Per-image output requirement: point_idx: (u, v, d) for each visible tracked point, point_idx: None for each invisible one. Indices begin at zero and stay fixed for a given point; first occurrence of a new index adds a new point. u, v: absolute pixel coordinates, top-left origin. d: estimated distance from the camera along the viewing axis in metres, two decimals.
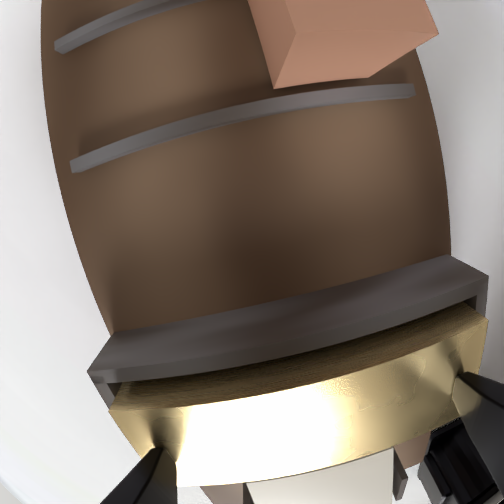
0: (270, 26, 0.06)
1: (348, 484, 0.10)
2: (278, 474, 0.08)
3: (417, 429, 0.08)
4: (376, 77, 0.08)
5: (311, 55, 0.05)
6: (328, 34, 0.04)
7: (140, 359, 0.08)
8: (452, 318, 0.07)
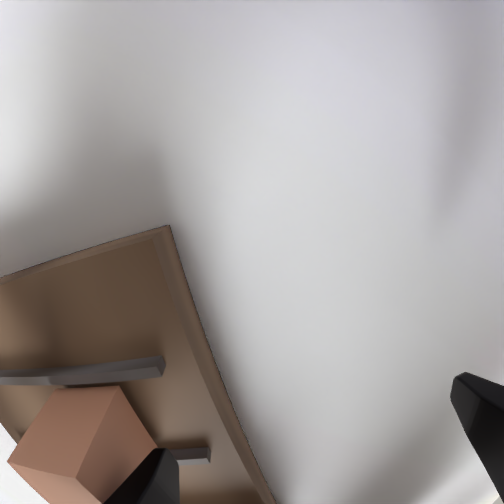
0: None
1: None
2: None
3: None
4: (180, 443, 0.10)
5: None
6: None
7: None
8: None
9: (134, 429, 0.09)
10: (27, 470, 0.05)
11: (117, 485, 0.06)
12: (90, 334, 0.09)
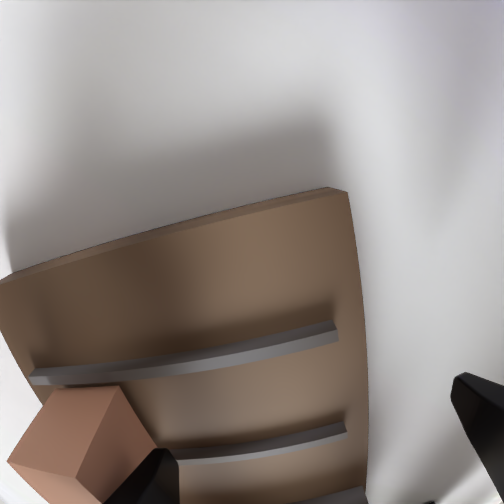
0: None
1: None
2: None
3: None
4: (316, 421, 0.10)
5: None
6: None
7: None
8: None
9: (133, 429, 0.09)
10: (27, 470, 0.05)
11: (117, 485, 0.06)
12: (250, 303, 0.08)
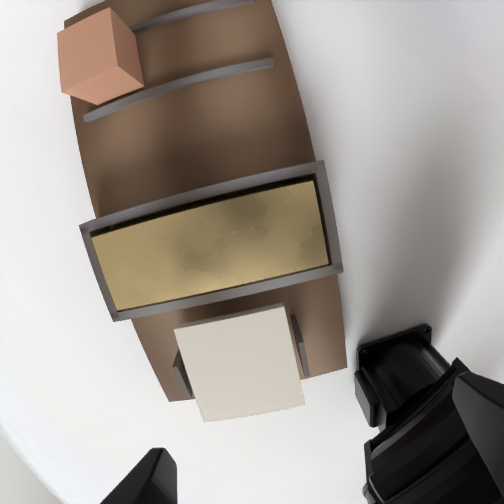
0: None
1: (252, 340, 0.16)
2: (187, 293, 0.15)
3: (281, 265, 0.15)
4: (252, 58, 0.15)
5: (84, 92, 0.12)
6: (74, 87, 0.11)
7: (110, 214, 0.14)
8: (291, 183, 0.14)
9: (135, 52, 0.13)
10: (71, 28, 0.10)
11: (120, 39, 0.11)
12: None
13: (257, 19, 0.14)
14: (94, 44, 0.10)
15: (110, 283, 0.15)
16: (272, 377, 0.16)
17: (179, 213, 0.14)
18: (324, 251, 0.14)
